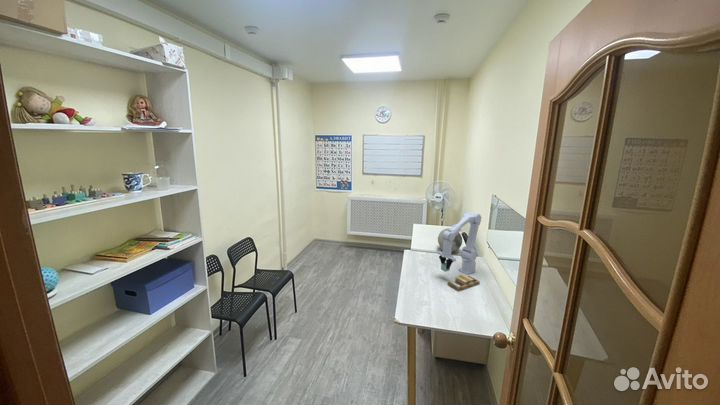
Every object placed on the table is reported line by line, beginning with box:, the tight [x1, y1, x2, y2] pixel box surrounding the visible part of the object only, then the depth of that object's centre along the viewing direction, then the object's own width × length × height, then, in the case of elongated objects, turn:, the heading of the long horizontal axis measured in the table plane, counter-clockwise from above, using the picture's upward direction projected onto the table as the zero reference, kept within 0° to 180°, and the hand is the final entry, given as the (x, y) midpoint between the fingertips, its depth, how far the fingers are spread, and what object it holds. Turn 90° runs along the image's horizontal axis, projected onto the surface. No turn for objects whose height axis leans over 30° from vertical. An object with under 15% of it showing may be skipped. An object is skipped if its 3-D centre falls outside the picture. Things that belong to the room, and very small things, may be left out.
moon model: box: [437, 227, 463, 253], centre depth 234 cm, size 20×20×20 cm
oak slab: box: [455, 274, 475, 284], centre depth 183 cm, size 8×8×3 cm
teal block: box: [440, 262, 451, 272], centre depth 185 cm, size 4×4×4 cm
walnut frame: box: [447, 275, 481, 292], centre depth 179 cm, size 20×9×2 cm, turn 119°
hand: (445, 267), depth 185 cm, fingers closed on teal block, 4 cm apart
